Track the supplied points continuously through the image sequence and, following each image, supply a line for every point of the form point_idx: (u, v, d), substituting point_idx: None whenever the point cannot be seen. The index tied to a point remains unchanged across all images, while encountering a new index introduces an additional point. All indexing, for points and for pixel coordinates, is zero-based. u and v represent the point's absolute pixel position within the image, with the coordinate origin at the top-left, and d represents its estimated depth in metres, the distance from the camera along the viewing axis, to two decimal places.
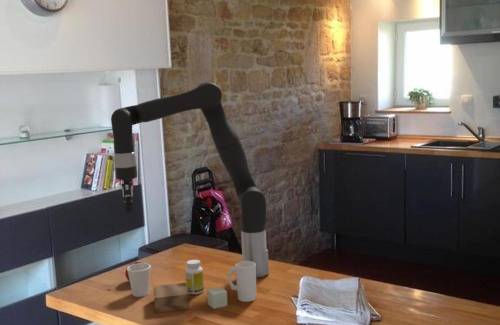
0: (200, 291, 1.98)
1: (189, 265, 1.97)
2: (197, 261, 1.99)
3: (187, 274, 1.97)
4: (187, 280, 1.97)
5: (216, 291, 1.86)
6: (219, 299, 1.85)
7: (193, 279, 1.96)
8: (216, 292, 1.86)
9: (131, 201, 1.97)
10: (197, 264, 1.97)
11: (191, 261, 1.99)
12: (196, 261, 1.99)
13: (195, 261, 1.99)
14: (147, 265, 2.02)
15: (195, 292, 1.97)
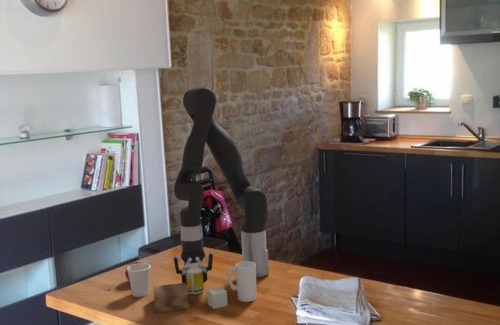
0: (200, 291, 1.98)
1: (189, 265, 1.97)
2: None
3: (187, 274, 1.97)
4: (187, 280, 1.97)
5: (216, 291, 1.86)
6: (219, 299, 1.85)
7: (193, 279, 1.96)
8: (216, 292, 1.86)
9: None
10: (197, 264, 1.97)
11: None
12: None
13: None
14: (147, 265, 2.02)
15: (195, 292, 1.97)
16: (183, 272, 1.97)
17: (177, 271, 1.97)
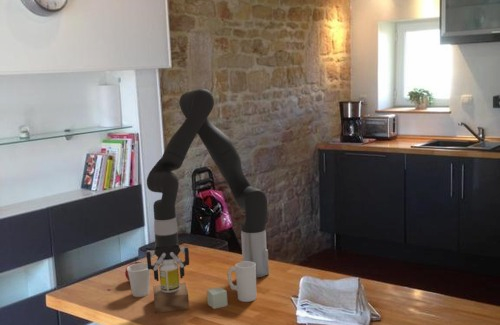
0: (175, 289, 1.87)
1: (163, 262, 1.86)
2: None
3: (161, 271, 1.86)
4: (161, 278, 1.86)
5: (216, 291, 1.86)
6: (219, 299, 1.85)
7: (167, 276, 1.85)
8: (216, 292, 1.86)
9: None
10: (172, 261, 1.86)
11: None
12: None
13: None
14: (147, 265, 2.02)
15: (170, 291, 1.86)
16: (155, 267, 1.86)
17: (149, 266, 1.85)
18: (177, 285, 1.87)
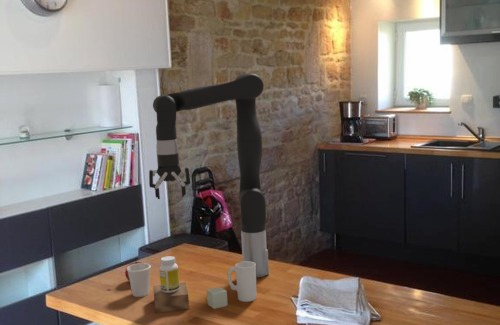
0: (175, 289, 1.87)
1: (163, 262, 1.86)
2: (172, 258, 1.87)
3: (161, 271, 1.86)
4: (161, 278, 1.86)
5: (216, 291, 1.86)
6: (219, 299, 1.85)
7: (167, 276, 1.85)
8: (216, 292, 1.86)
9: None
10: (172, 261, 1.86)
11: (166, 258, 1.88)
12: (171, 258, 1.88)
13: (170, 258, 1.88)
14: (147, 265, 2.02)
15: (170, 291, 1.86)
16: (156, 186, 1.98)
17: (150, 184, 1.98)
18: (177, 285, 1.87)
